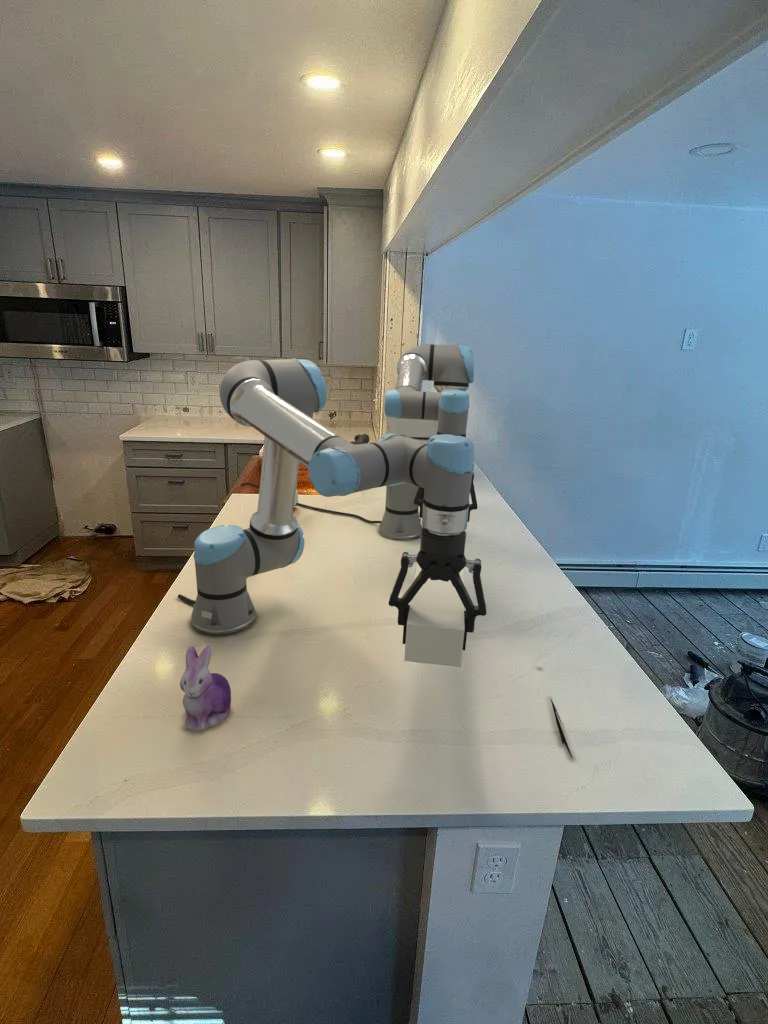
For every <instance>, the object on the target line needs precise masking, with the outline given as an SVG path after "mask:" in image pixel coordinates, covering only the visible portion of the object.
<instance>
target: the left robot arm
mask: <svg viewBox="0 0 768 1024" xmlns="http://www.w3.org/2000/svg"><path fill="white" fill-rule="evenodd" d="M327 389H328V388H327V383H326V380H325V377H324V375H323V373H322V371H321V369H320V368H319V366H318V365H316V364H315V362H313V361H312V360H309V359H302V358H301V359H300V358H295V357H293V358H282V359H280V358H279V359H252V360H251V359H250V360H249V359H247V360H245V361H241V362H239V363H237V364H235V365H234V366H232V367H231V368H229V370H228V371H227V372H226V373H225V374H224V376H223V378H222V380H221V382H220V387H219V399H220V402H221V405H222V408H223V409H224V411H225V412H226V413H227V415H228V416H229V417H230V418H231V419H232V420H234V421H235V422H236V423H238V424H239V425H241V426H244V427H251V428H254V429H255V430H256V431H258V432H259V433H260V434H261V435H263V436H264V440H263V442H264V443H263V449H262V460H261V470H260V480H259V486H260V488H258V489H259V490H258V501H257V511H255V512H253V513H252V515H251V516H250V519H249V527H248V528H244V529H243V527H241V526H239V525H236V524H227V525H225V524H221V525H217V526H214V527H210V528H207V529H205V530H204V531H202V532H201V533H200V534H198V536H197V538H196V539H195V541H194V544H193V546H194V547H193V548H194V549H193V560H194V567H195V580H196V591H197V593H196V598H195V600H194V599H190V598H188V597H187V596H185V595H182V594H180V593H179V594H178V595H177V598H178V599H180V600H182V601H184V602H186V603H188V604H191V605H193V609H192V612H191V617H190V618H191V625H192V627H193V629H194V630H195V631H197V632H199V633H200V634H203V635H208V636H214V637H215V636H216V637H218V636H228V635H233V634H237V633H240V632H242V631H244V630H246V629H248V628H249V627H251V626H252V625H253V623H254V622H255V620H256V609H255V605H254V603H253V601H252V598H251V596H250V594H249V592H248V586H247V579H248V578H250V577H253V576H256V575H261V574H264V573H268V572H270V571H271V572H272V571H274V570H278V569H283V568H286V567H288V566H290V565H293V564H295V563H296V562H298V561H299V560H300V559H301V557H302V555H303V553H304V549H305V538H304V536H303V535H304V531H303V529H302V527H301V524H299V522H298V520H297V518H296V517H295V516H294V515H293V514H294V512H293V508H294V507H295V505H294V501H295V493H296V490H297V484H298V478H299V471H300V464H302V465H303V466H304V467H306V468H307V469H308V477H309V480H310V484H311V485H313V486H314V487H313V488H314V490H315V491H316V493H318V494H319V495H320V496H322V497H326V498H332V497H345V496H349V495H351V494H356V493H360V492H365V491H368V490H372V489H376V488H382V487H386V486H387V485H392V484H397V483H401V482H407V483H410V484H413V485H416V486H418V487H421V488H424V502H423V516H422V518H421V525H422V530H421V536H420V543H419V550H420V551H419V550H418V552H417V554H413V553H411V554H410V553H409V552H407V551H403V552H402V554H401V558H400V569H399V572H398V574H397V576H396V580H395V582H394V585H393V588H392V590H391V593H390V596H389V600H388V603H387V604H388V606H389V607H394V608H396V609H397V625H398V626H403V629H402V644H403V645H405V642H406V627H407V620H408V614H409V608H410V602H411V600H412V599H413V598H414V596H415V595H416V594H417V592H418V591H419V590H420V588H421V587H422V586H423V584H425V583H426V581H427V580H428V579H429V578H430V580H442V581H446V582H448V581H449V580H450V581H451V583H452V585H453V587H455V589H456V591H457V593H458V595H459V597H460V599H461V601H462V603H463V605H464V624H465V631H464V640H463V650H462V651H466V646H467V638H468V633H471V634H472V633H474V632H475V625H476V624H475V623H476V619H477V617H479V616H482V617H485V616H487V613H488V612H487V604H486V599H485V594H484V588H483V583H482V578H481V573H482V560H481V559H480V558H475V559H474V560H473V559H469V558H468V559H467V557H466V555H465V550H466V549H465V548H466V541H467V540H466V539H467V532H466V530H467V528H468V522H467V521H468V511H469V504H470V497H471V495H470V488H471V481H472V474H473V473H474V469H475V460H474V458H475V446H474V442H473V441H472V440H471V439H470V438H468V437H467V436H466V437H463V436H455V435H449V434H441V435H434V436H432V437H431V438H430V439H429V441H428V443H427V442H423V441H420V440H416V439H413V438H410V437H408V436H405V435H401V434H400V435H398V434H391V433H390V434H386V433H384V434H383V435H382V436H381V437H380V438H378V439H377V440H376V441H373V442H368V443H366V444H358V445H355V444H351V443H350V442H351V441H348V440H347V439H345V438H343V437H342V436H340V435H339V434H337V433H336V432H335V431H332V430H331V429H329V428H328V427H326V426H325V425H323V424H322V423H320V422H319V421H318V420H315V419H314V413H319V412H320V411H322V410H323V408H325V406H326V403H327V400H328V390H327ZM415 563H416V564H417V563H418V565H419V566H420V567H421V569H422V570H421V571H420V573H419V575H418V576H417V578H416V579H415V578H414V579H415V580H413V581H412V583H411V584H410V585H409V587H408V588H407V589H406V591H405V592H404V594H403V595H402V596H401V597H399V596H400V592H401V590H402V587H403V585H404V582H405V580H406V577H407V575H408V570H409V568H412V567H413V566H414V564H415ZM463 568H464V569H465V568H467V569H468V570H467V571H468V573H470V574H472V582H473V587H474V592H475V598H476V603H477V605H475V604H474V601H473V600H472V598H471V596H470V594H469V591H468V590H467V588H466V586H465V583H464V584H463V582H462V580H461V577H460V574H459V572H460V571H461V570H462V569H463Z"/></svg>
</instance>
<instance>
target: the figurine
mask: <svg viewBox="0 0 768 1024" xmlns="http://www.w3.org/2000/svg"><path fill="white" fill-rule="evenodd" d="M213 649H214V648H213V645H212V644H211V643H208V644H206V646H204V648H203V649H202V651H201V652H200V653H199V655H198V651H197V650H196V647H195V646H194V645H190V646H188V647H187V648H186V652H185V659H184V660H185V669H184V672H183V673H182V675H181V678H180V681H179V687H180V690H181V691H182V692H183V693H184V694H183V697H182V705H183V708H184V711H185V714H186V718H185V722H184V723H185V727H186V728H187V729H189V730H194V731H198V732H199V731H204V730H205V729H207V728H213V727H215V726H217V725H219V724H220V723H221V722H222V721H224V720H225V719H227V717H229V715H230V712H231V705H232V689H231V686H230V683H229V681H228V679H227V678H226V677H225V676H224V675H222V674H221V673H219V672H218V673H217V672H212V673H211V671H210V669H209V665H210V662H211V658H212V654H213Z"/></svg>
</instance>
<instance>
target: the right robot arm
mask: <svg viewBox="0 0 768 1024" xmlns="http://www.w3.org/2000/svg"><path fill="white" fill-rule="evenodd" d="M474 363H475V361H474V352H473V349H472V348H471V347H470V346H466V345H465V346H464V345H459V344H432V343H423V344H418V345H415V346H413V347H411V348H409V349H408V350H407V351H405V352H404V353H403V354H401V356H400V357H399V359H398V361H397V364H396V372H397V373H396V374H397V379H396V383H395V388H394V389H388V390H386V391H385V394H384V401H383V402H384V405H383V406H384V407H383V410H384V411H383V413H384V415H385V417H386V416H387V417H391V418H396V419H420V420H436V422H435V435H441V434H449V435H455V436H463V437H466V438H467V427H468V419H469V409H470V393H469V392H468V390H469V389H470V388H469V386H470V384H473V383H474V380H475V364H474ZM423 381H428V382H429V381H430V382H433V388H434V389H435V391H422V386H423ZM474 480H475V473H474V472H473V474H472V481H471V488H470V499H471V503H469V511H468V521H467V523H469V522H470V516H471V512H472V511H474V510H477V509H478V500H477V495H476V490H475V485H474ZM244 486H250V487H251V486H252V487H255V488H257V489H260V485H257V484H255V483H252V482H244V483H241V484H240V487H244ZM385 487H386V488H385V489H386V490H385V504H384V505H385V507H384V508H385V509H384V513H383V515H382V519H381V520H369V519H367V518H364V517H362V516H360V515H358V514H354V513H349V512H342V511H336V510H331V509H325V508H320V507H316V506H311V505H308V504H304V503H299V502H297V503H296V504H295V505H296V506H299V507H303V508H306V509H310V510H314V511H319V512H325V513H330V514H335V515H341V516H347V517H348V516H349V517H352V518H356V519H360V520H361V521H363V522H366V523H367V524H379V527H378V533H379V534H380V535H381V536H382V537H385V538H387V539H389V540H395V541H410V540H415V539H418V538H421V530H422V528H423V525H422V516H423V502H424V488H421V487H418V486H416V485H413V484H410V483H407V482H401V483H397V484H392V485H387V486H385Z"/></svg>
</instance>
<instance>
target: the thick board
mask: <svg viewBox="0 0 768 1024" xmlns="http://www.w3.org/2000/svg"><path fill="white" fill-rule="evenodd" d="M419 551H420V549H419V550H418V552H419ZM421 570H422V569H421V567H420V566H419V565H418V563H417V562H416V569H415V573H414V574H415V575H414V580H415V579H416V578H417V576H418V575H419V573H420V571H421ZM459 574H460V577H461V580H462V582H463V584H464V585H465V567H464V568H463V569H462V570H461V571H460V572H459ZM414 580H413V581H414ZM409 605H410V608H409V614H408V620H407V627H406V642H405V644H404V659H403V660H404V662H409V663H419V664H426V665H427V664H428V665H429V664H430V665H437V666H447V667H454V668H461V666H462V658H463V651H464V650H463V640H464V631H465V624H464V611H465V607H464V605H463V603H462V601H461V599H460V597H459V595H458V593H457V591H456V589H455V587H453V585H452V583H451V581H450V580H449V581H448V582H446V581H442V580H430V578H429V579H428V580H427V581H426V583H425V584H423V586H422V587H421V588H420V590H419V591H418V592H417V594H416V595H415V596H414V598H413V599H412V600H411V602H410V603H409Z"/></svg>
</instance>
